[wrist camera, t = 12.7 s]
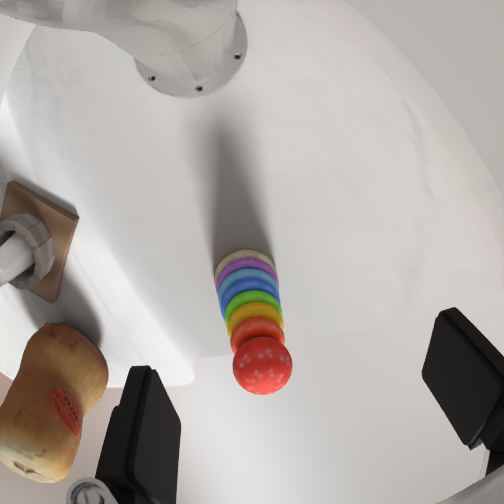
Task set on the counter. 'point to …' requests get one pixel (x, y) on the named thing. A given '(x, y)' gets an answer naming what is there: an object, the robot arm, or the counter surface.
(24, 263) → the pepper shaker
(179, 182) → the counter surface
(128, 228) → the counter surface
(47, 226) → the shaft housing
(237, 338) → the stacking toy
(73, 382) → the butternut squash
